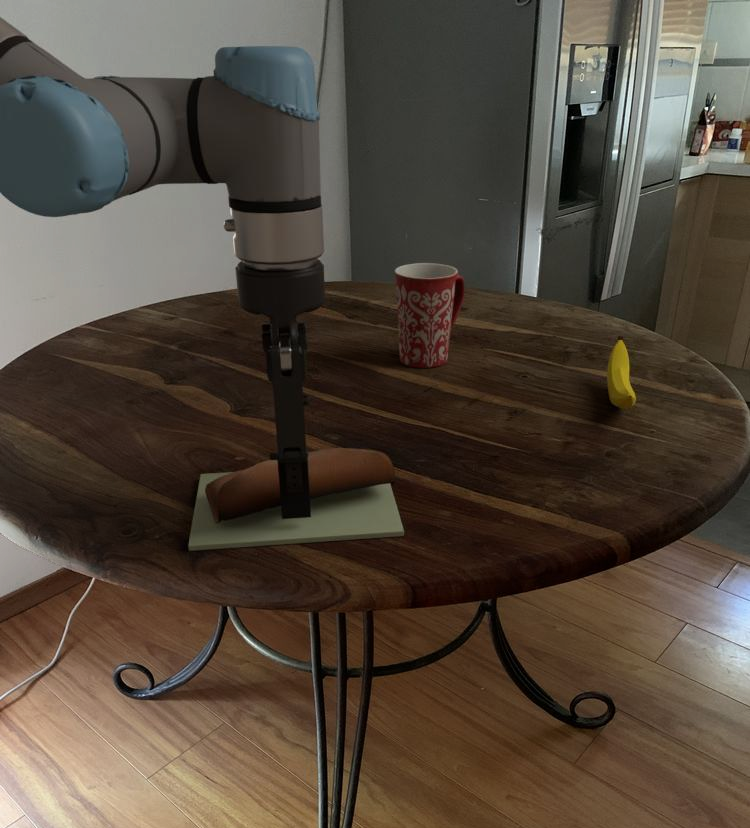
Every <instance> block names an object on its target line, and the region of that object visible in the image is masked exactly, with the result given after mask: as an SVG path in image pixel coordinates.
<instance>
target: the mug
mask: <svg viewBox="0 0 750 828" xmlns="http://www.w3.org/2000/svg"><path fill="white" fill-rule="evenodd" d="M393 272H394V276H395V287H396V289H395V290H396V307H397V328H398V349H399V350H398V351H399V360H400V362H401V363H402V364H404V365H405V366H408V367H412V368H419V369H429V368H436V367H440V366H443V365H445V363H447V361H448V357H449V348H450V339H451V338H450V337H451V332H452V329H454V328H453V327H454V326H455V323H456V321H457V319H458V316H459V314H460V312H461V309H462V306H463V303H464V299H465V293H466V291H465V290H466V283H465V279H464V278H463V276H461V275H459V274H458V273H459V271H458V269H457V268H456V267H454V266H451V265H447V264H443V263H434V262H433V263H432V262H419V263H418V262H417V263H409V264H404V265H401V266H398V267H396V268H395V269H394V271H393Z"/></svg>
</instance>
